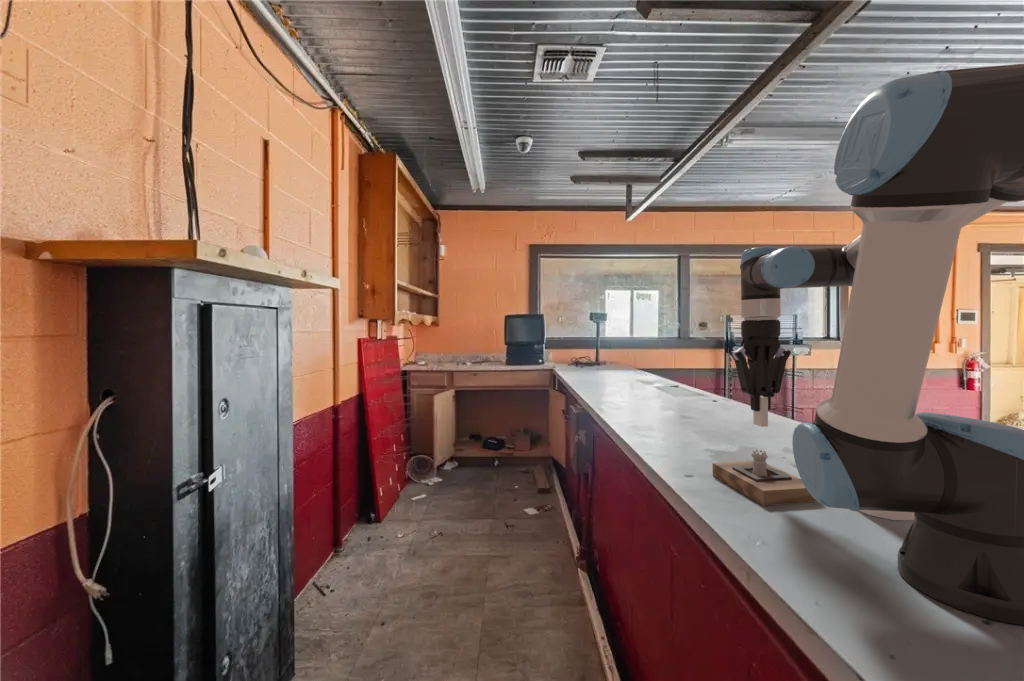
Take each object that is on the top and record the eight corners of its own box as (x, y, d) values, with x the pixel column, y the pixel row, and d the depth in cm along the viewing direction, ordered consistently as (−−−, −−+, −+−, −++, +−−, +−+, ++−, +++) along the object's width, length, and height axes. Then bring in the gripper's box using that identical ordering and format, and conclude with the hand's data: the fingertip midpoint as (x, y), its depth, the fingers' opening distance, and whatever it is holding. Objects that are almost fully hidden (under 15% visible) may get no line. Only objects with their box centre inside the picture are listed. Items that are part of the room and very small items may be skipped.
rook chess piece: (774, 491, 94) (774, 454, 93) (752, 490, 94) (752, 454, 94) (766, 483, 98) (766, 449, 98) (745, 483, 99) (745, 448, 98)
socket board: (818, 501, 88) (818, 484, 87) (763, 505, 86) (763, 488, 86) (758, 472, 105) (758, 458, 105) (712, 475, 104) (712, 460, 104)
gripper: (775, 318, 99) (775, 420, 100) (722, 320, 98) (723, 422, 99) (800, 318, 92) (800, 427, 92) (743, 319, 90) (744, 430, 91)
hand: (760, 425), depth 95 cm, fingers closed
